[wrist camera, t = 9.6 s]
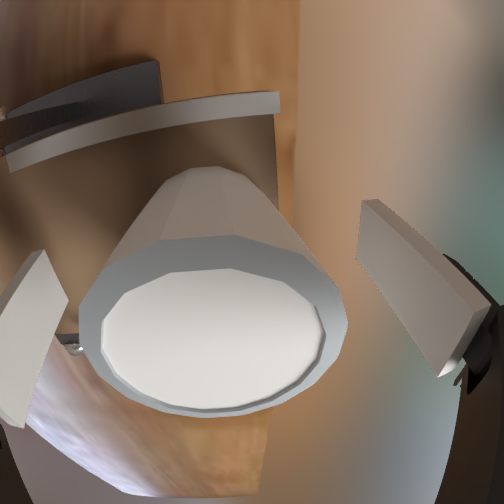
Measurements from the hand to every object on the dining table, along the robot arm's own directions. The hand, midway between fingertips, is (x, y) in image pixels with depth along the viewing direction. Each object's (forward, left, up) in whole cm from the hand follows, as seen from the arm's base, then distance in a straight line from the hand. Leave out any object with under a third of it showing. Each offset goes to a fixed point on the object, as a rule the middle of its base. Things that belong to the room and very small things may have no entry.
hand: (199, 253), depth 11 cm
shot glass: (0, 0, -2) cm, 2 cm away
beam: (0, -10, -5) cm, 12 cm away
